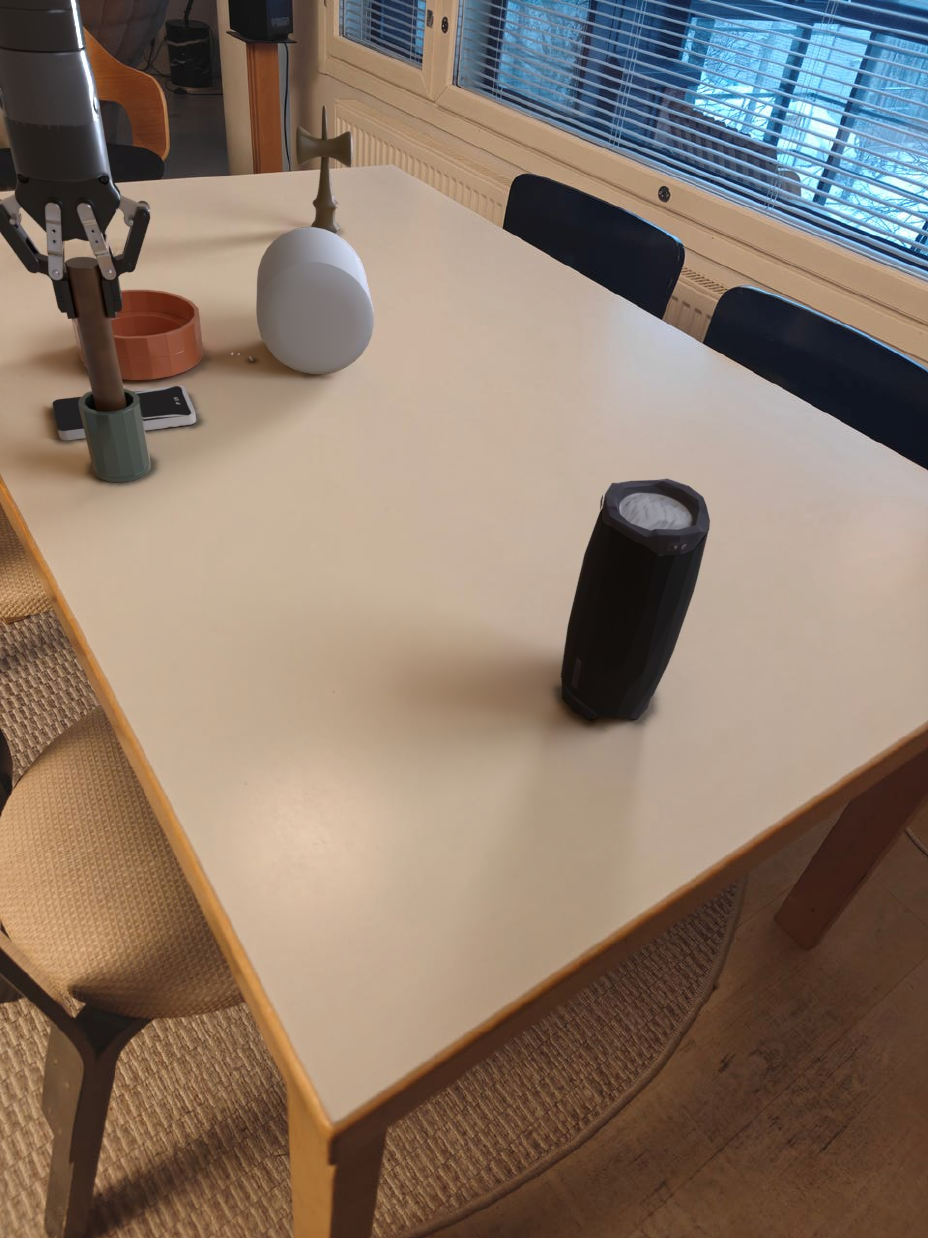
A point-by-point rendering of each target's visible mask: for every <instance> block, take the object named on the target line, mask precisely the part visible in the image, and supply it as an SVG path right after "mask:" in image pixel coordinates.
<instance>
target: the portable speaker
mask: <svg viewBox="0 0 928 1238" xmlns="http://www.w3.org/2000/svg"><path fill="white" fill-rule="evenodd" d="M710 525H711V520H710V514H709V511H708V506H707V503H706V500H705V497H704V496H703V495H702V494H700V493H699V492H698V491H696V490H695V489H693V488H692V487H691V486H690V485H688V484H684V483H681V482H679V481H675V480H672V479H670V478H660V479H646V480H645V479H644V480H642V479H641V480H627V481H621V482H620V481H619V482H611V484H610V485H609V486H608V488H607V490H606V492H605V493H604V494H602V496H601V498H600V503H599V513H598V516H597V518H596V521H595V524H594V526H593V530H592V532H591V535H590V538H589V541H588V543H587V546H586V547H585V548H586V549H585V551H584V554H583V559H582V563H581V567H580V571H579V575H578V581H577V585H576V588H575V591H574V597H573V601H572V606H571V610H570V614H569V618H568V623H567V627H566V635H565V636H566V637H565V642H564V649H563V656H562V662H561V663H562V664H561V670H560V680H561V681H560V682H561V683H560V685H561V687H560V688H561V689H560V690H561V699H562V701H564V703H565V704H566V705H567V706H568V708H569V709H570V710H571V711H572V712H573V713H575V714H576V715H578V716H580V717H582V718H584V719H585V720H587V721H591V720H594V719H596V718H603V719H612V720H613V719H614V720H616V719H632V720H639V718H640V717H641V716H642V715H643V714H644V713H645V712H646V710H647V709H648V708H649V706H650V703H651V699H652V697H653V696H654V695H655V693H656V691H657V689H658V686H659V685H660V682H661V680H662V678H663V676H664V674H665V672H666V670H667V668H668V665H669V663H670V661H671V658H672V657H673V654H674V651H675V648H676V645H677V642H678V639H679V637H680V633H681V631H682V628H683V625H684V622H685V619H686V616H687V613H688V610H689V607H690V604H691V602H692V598H693V596H694V592H695V589H696V585H697V582H698V577H699V574H700V569H701V565H702V560H703V556H704V553H705V547H706V545H707V544H706V543H707V539H708V534H709V532H710V527H711V526H710Z"/></svg>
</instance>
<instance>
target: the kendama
mask: <svg viewBox="0 0 928 1238" xmlns="http://www.w3.org/2000/svg"><path fill="white" fill-rule="evenodd" d="M321 109H322V110H321V138H319V137H316V136H314V135H312V134H311V133H310V132H308V131H307V130H306V129H305V128H303V127H302V126H301V125H298V126H297V127H296V130H295V152H296V161H297V165H298V167H302V166H304V165H306V164H307V163H308V162H310V161H312V160H314V159H315V158H320V168H319V179H318V180H319V181H318V188H317V195H316V197H315V199H314V200H313V201H312V205H313V207H314V209H315V217H314V220H313V222H312V223H311V226H310V227H315V228H320V229H325V230H327V231H330V232H332V233H335V234H337V233H338V232H340V230H341V225H340V224H339V222H337V218H336V211H337V208H338V207H339V205H340V204H339V202H338V201H337V200H336V198H335V196H334V190H333V184H332V177H331V169H330V159H333V160H335V161H337V162H339V163H340V164H342V165H343V166H345V167H347V168H352V166H353V161H354V139H353V133H352V132H351V131H350V130H347V131H345V132H343V133H341V134H340V135H338V136H336V137H332V138H328V120H327V119H328V117H327V116H328V115H327V107H326V105H323V106H322V108H321Z"/></svg>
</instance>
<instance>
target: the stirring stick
mask: <svg viewBox="0 0 928 1238" xmlns="http://www.w3.org/2000/svg"><path fill="white" fill-rule="evenodd" d="M65 267H66V272H67V276H68V280H69V285H70V289H71V294H72V299H73V304H74V308H75V313H76V319H77V323H78V328H79V333H80V337H81V342H82V347H83V351H84V356H85V361H86V365H87V367H86V370H87V374H88V378H89V383H90V389H91V391H92V394H93V398H94V403H95V408H96V411H101V412H112V411H119V410H122V409H124V408H127V405H126V399H125V394H124V389H123V388H124V384H123V379H122V378H121V373H120V367H119V362H118V357H117V351H116V346H115V340H114V335H113V330H112V324H111V319H110V318H108V313H107V308H106V303H105V297H104V292H103V287H102V281H101V280H102V272H101V270H100V267H99V264H98V261H97V259H96V257H91V256H75V257H72V258H68V259H67V260H65Z"/></svg>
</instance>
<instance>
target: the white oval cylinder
mask: <svg viewBox="0 0 928 1238" xmlns="http://www.w3.org/2000/svg"><path fill="white" fill-rule="evenodd" d="M256 275H257V277H256V308H255V309H256V311H255V313H256V314H255V315H256V322H257V323H256V324H257V327H258V330H259V334H260V337H261V339H262V341H263V343H264V345H265V346H266V348H267V349H268V351H269V352H270V353H271V355H273V357H274V358H276V359H277V360H278V361H279V362H281V364H283V365H285V366H286V367H289V368H290V369H292V370H295V371H297V372H300V373H304V374H310V375H327V374H333V373H337V372H339V371H341V370H343V369H346V368H348V367H349V366H350V365H352V364H353V363H355V362H356V361H357V360H358V359H359V358H360V357H361V356H362V355H363V353H364V352H365V350H366V349H367V347H368V346H369V344H370V342H371V339H372V336H373V332H374V327H375V310H374V306H373V305H374V304H373V301H372V296H371V293H370V288H369V284H368V279H367V274H366V270H365V267H364V265H363V262H362V260H361V258H360V257H359V255H358V254H357V252H356V251H355V249H354V248H353V247H352V246H351V245H350V244H349V242H348V241H346V240H345V239H344V238H342V237H341V236H339V235H338V234H337V233H332V232H330V231H327V230H325V229H320V228H315V227H312V226H309V227H308V226H306V227H299V228H294V229H291V230H288V231H286V232H284V233H282V234H280V236H278V237H276V238H275V239H274V240H273V241H272V242H271V243H270V244H269V245H268V247H266V250H265V252H264V253H263V255H262V256H261V259H260V262H259V266H258V268H257V274H256ZM230 355H231V356H233V355H234V352H231V353H230ZM237 355H238V356H240V355H241V353H240V352H237ZM248 359H250V361H253V360H254V358H252V356H251V355H250V356H249V357H248Z"/></svg>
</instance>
